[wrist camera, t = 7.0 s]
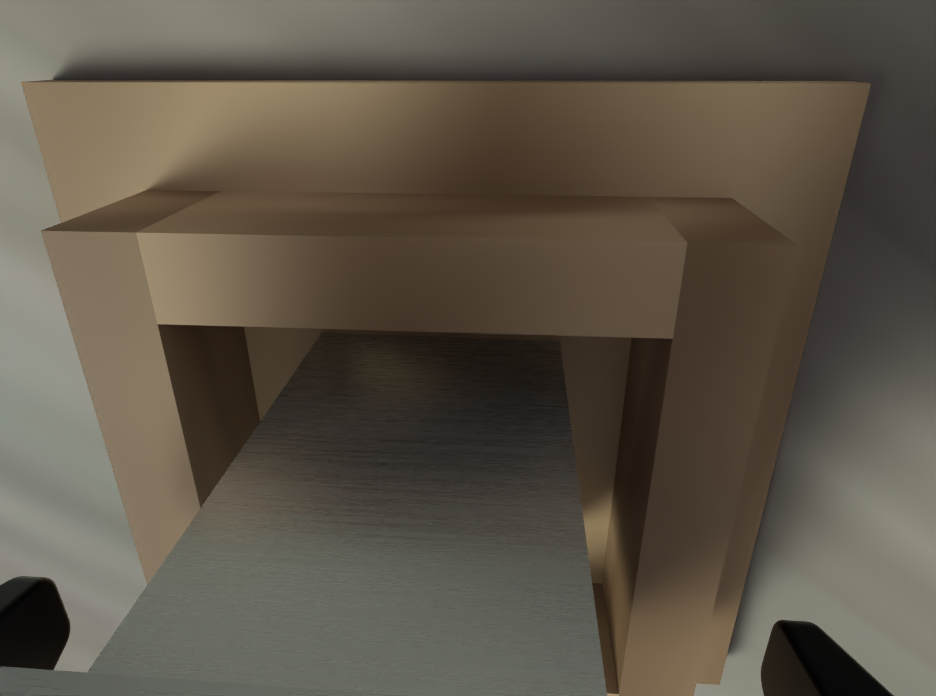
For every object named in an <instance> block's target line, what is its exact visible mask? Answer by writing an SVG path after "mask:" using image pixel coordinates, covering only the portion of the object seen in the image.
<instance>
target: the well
mask: <svg viewBox="0 0 936 696" xmlns="http://www.w3.org/2000/svg"><path fill="white" fill-rule="evenodd" d="M21 84H22V87H23V91H24V94H25V98H26V101H27V105H28V108H29V112H30V115H31V119H32V122H33V126H34V129H35V133H36V136H37V140H38V144H39V147H40V151H41V154H42V158H43V161H44V165H45V168H46V172H47V175H48V179H49V182H50V186H51V189H52V193H53V196H54V200H55V203H56V207H57V210H58V214H59V217H60V221H61V223H60V224H58V225H55V226H52V227H50V228H47V229H45V230H42V231H41V232H42V236H43V239H44V242H45V246H46V249H47V252H48V256H49V259H50V262H51V266H52V269H53V272H54V276H55V279H56V282H57V286H58V289H59V292H60V296H61V299H62V302H63V306H64V309H65V312H66V316H67V319H68V322H69V325H70V329H71V332H72V335H73V339H74V342H75V345H76V349H77V352H78V355H79V359H80V362H81V365H82V369H83V372H84V375H85V379H86V382H87V385H88V389H89V392H90V395H91V399H92V402H93V405H94V409H95V412H96V415H97V419H98V422H99V425H100V429H101V432H102V435H103V439H104V442H105V445H106V449H107V452H108V455H109V459H110V462H111V465H112V469H113V472H114V475H115V479H116V482H117V485H118V489H119V492H120V495H121V499H122V502H123V505H124V509H125V512H126V515H127V519H128V522H129V525H130V529H131V532H132V535H133V539H134V542H135V545H136V549H137V552H138V555H139V559H140V562H141V565H142V569H143V572H144V575H145V579H146V582H147V585H148V584H149V582H150V581H151V579H152V578H153V576H154V575H155V574H156V572H157V571H158V569H159V568H160V566H161V565H162V563H163V562H164V560H165V559H166V558H167V556H168V555H169V553H170V552H171V550H172V549H173V547H174V546H175V545H176V543H177V542H178V540H179V539H180V537H181V536H182V534H183V533H184V531H185V530H186V529H187V527H188V526H189V524H190V523H191V521H192V520H193V518H194V517H195V516H196V514H197V513H198V511H199V510H200V508H201V507H202V505H203V504H204V502H205V501H206V500H207V498H208V497H209V495H210V494H211V492H212V491H213V489H214V488H215V487H216V485H217V484H218V482H219V481H220V479H221V478H222V476H223V475H224V473H225V472H226V471H227V469H228V468H229V466H230V465H231V463H232V462H233V460H234V459H235V458H236V456H237V455H238V453H239V452H240V450H241V449H242V447H243V446H244V445H245V443H246V442H247V440H248V439H249V437H250V436H251V434H252V433H253V431H254V430H255V429H256V427H257V426H258V424H259V423H260V421H261V420H262V418H263V417H264V416H265V414H266V413H267V411H268V410H269V408H270V407H271V405H272V404H273V402H274V401H275V400H276V398H277V397H278V395H279V394H280V392H281V391H282V389H283V388H284V387H285V385H286V384H287V382H288V381H289V379H290V378H291V376H292V375H293V373H294V372H295V371H296V369H297V368H298V366H299V365H300V363H301V362H302V360H303V359H304V358H305V356H306V355H307V353H308V352H309V350H310V349H311V347H312V346H313V344H314V343H315V342H316V340H317V339H318V337H319V336H320V334H321V333H346V334H374V335H402V336H431V337H459V338H487V339H516V340H544V341H560V347H561V355H562V362H563V370H564V377H565V385H566V392H567V400H568V407H569V415H570V422H571V430H572V437H573V445H574V452H575V459H576V467H577V474H578V482H579V489H580V497H581V504H582V512H583V519H584V527H585V534H586V542H587V549H588V557H589V564H590V572H591V579H592V586H593V594H594V601H595V609H596V616H597V624H598V631H599V639H600V646H601V654H602V661H603V669H604V676H605V684H606V691H607V696H693V695H694V691H695V687H696V683H702V684H718V685H719V684H720V680H721V676H722V672H723V668H724V664H725V660H726V656H727V652H728V648H729V644H730V640H731V637H732V633H733V629H734V625H735V621H736V617H737V613H738V609H739V605H740V601H741V597H742V593H743V589H744V585H745V581H746V577H747V573H748V569H749V565H750V561H751V557H752V553H753V550H754V546H755V542H756V538H757V534H758V530H759V526H760V522H761V518H762V514H763V510H764V506H765V502H766V498H767V494H768V490H769V486H770V482H771V478H772V474H773V470H774V466H775V463H776V459H777V455H778V451H779V447H780V443H781V439H782V435H783V431H784V427H785V423H786V419H787V415H788V411H789V407H790V403H791V399H792V395H793V391H794V387H795V383H796V380H797V376H798V372H799V368H800V364H801V360H802V356H803V352H804V348H805V344H806V340H807V336H808V332H809V328H810V324H811V320H812V316H813V312H814V308H815V304H816V300H817V296H818V293H819V289H820V285H821V281H822V277H823V273H824V269H825V265H826V261H827V257H828V253H829V249H830V245H831V241H832V237H833V233H834V229H835V225H836V221H837V217H838V213H839V209H840V206H841V202H842V198H843V194H844V190H845V186H846V182H847V178H848V174H849V170H850V166H851V162H852V158H853V154H854V150H855V146H856V142H857V138H858V134H859V130H860V126H861V122H862V119H863V115H864V111H865V107H866V103H867V99H868V95H869V91H870V87H871V83H864V82H854V81H367V80H44V81H30V82H21Z"/></svg>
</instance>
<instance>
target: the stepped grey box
mask: <svg viewBox="0 0 936 696" xmlns="http://www.w3.org/2000/svg"><path fill="white" fill-rule="evenodd" d="M0 696H607V691H606V684H605V676H604V669H603V661H602V654H601V646H600V639H599V631H598V624H597V616H596V609H595V601H594V594H593V586H592V579H591V572H590V564H589V557H588V549H587V542H586V534H585V527H584V519H583V512H582V504H581V497H580V489H579V482H578V474H577V467H576V459H575V452H574V445H573V437H572V430H571V422H570V415H569V407H568V400H567V392H566V385H565V377H564V370H563V362H562V355H561V347H560V341H544V340H516V339H487V338H459V337H431V336H402V335H374V334H346V333H321V334H320V336H319V337H318V339H317V340H316V342H315V343H314V344H313V346H312V347H311V349H310V350H309V352H308V353H307V355H306V356H305V358H304V359H303V360H302V362H301V363H300V365H299V366H298V368H297V369H296V371H295V372H294V373H293V375H292V376H291V378H290V379H289V381H288V382H287V384H286V385H285V387H284V388H283V389H282V391H281V392H280V394H279V395H278V397H277V398H276V400H275V401H274V402H273V404H272V405H271V407H270V408H269V410H268V411H267V413H266V414H265V416H264V417H263V418H262V420H261V421H260V423H259V424H258V426H257V427H256V429H255V430H254V431H253V433H252V434H251V436H250V437H249V439H248V440H247V442H246V443H245V445H244V446H243V447H242V449H241V450H240V452H239V453H238V455H237V456H236V458H235V459H234V460H233V462H232V463H231V465H230V466H229V468H228V469H227V471H226V472H225V473H224V475H223V476H222V478H221V479H220V481H219V482H218V484H217V485H216V487H215V488H214V489H213V491H212V492H211V494H210V495H209V497H208V498H207V500H206V501H205V502H204V504H203V505H202V507H201V508H200V510H199V511H198V513H197V514H196V516H195V517H194V518H193V520H192V521H191V523H190V524H189V526H188V527H187V529H186V530H185V531H184V533H183V534H182V536H181V537H180V539H179V540H178V542H177V543H176V545H175V546H174V547H173V549H172V550H171V552H170V553H169V555H168V556H167V558H166V559H165V560H164V562H163V563H162V565H161V566H160V568H159V569H158V571H157V572H156V574H155V575H154V576H153V578H152V579H151V581H150V582H149V584H148V585H147V587H146V588H145V589H144V591H143V592H142V594H141V595H140V597H139V598H138V600H137V601H136V603H135V604H134V605H133V607H132V608H131V610H130V611H129V613H128V614H127V616H126V617H125V618H124V620H123V621H122V623H121V624H120V626H119V627H118V629H117V630H116V631H115V633H114V634H113V636H112V637H111V639H110V640H109V642H108V643H107V645H106V646H105V647H104V649H103V650H102V652H101V653H100V655H99V656H98V658H97V659H96V660H95V662H94V663H93V665H92V666H91V668H90V669H89V671H88V672H87V673H85V672H71V671H57V670H43V669H30V668H16V667H2V666H1V667H0Z"/></svg>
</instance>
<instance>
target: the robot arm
mask: <svg viewBox="0 0 936 696" xmlns="http://www.w3.org/2000/svg"><path fill="white" fill-rule="evenodd" d="M69 634H70V621H69V618H68V615H67V612H66V610H65V607H64V605H63V602H62V599H61V597H60V594H59V592H58V589H57V587H56V585H55V583H54V582H53V581H52V580H51V579H49V578H46V577H29V576H21V577H16V578H13V579H11V580H9V581H7V582H5V583H4V584H2V585H0V667H1V666H2V667H16V668H30V669H43V670H54V668H55V666H56V664H57V662H58V660H59V658H60V656H61V654H62V652H63V650H64V648H65V646H66V643H67V641H68V637H69ZM761 682H762V689H763V693H764V696H893V695H892V694H891V693H890V692H889V691H888V690H887V689H886V688H885V687H884V686H883V685H882V684H880V683H879V682H878V681H877V680H876V679H875V678H874V677H873V676H872V675H871V674H870V673H869V672H867V671H866V670H865V669H864V668H863V667H862V666H861V665H860V664H859V663H858V662H857V661H855V660H854V659H853V658H852V657H851V656H850V655H849V654H848V653H847V652H846V651H845V650H844V649H842V648H841V647H840V646H839V645H838V644H837V643H836V642H835V641H834V640H833V639H832V638H831V637H829V636H828V635H827V634H826V633H825V632H824V631H823V630H822V629H821V628H819V627H818V626H817V625H815V624H813V623H811V622H806V621H789V620H780V621H778V622H776V623H775V624H774V626H773V628H772V631H771V635H770V638H769V642H768V645H767V649H766V652H765V655H764V659H763V662H762V667H761Z"/></svg>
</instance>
